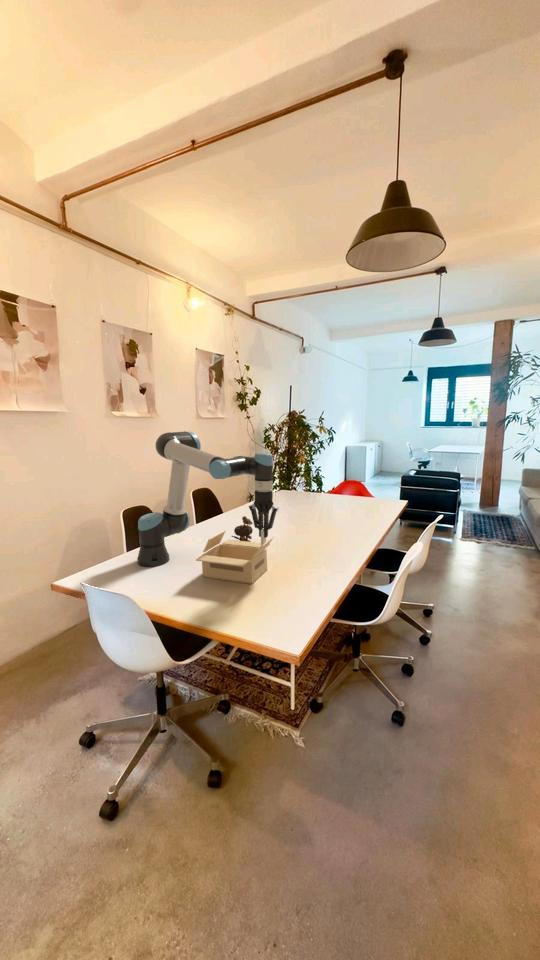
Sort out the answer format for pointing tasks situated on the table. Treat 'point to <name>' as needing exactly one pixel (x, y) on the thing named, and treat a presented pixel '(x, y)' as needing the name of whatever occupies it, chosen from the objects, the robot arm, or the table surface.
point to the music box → (244, 530)
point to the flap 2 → (263, 547)
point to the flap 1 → (214, 541)
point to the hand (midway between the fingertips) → (263, 544)
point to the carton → (234, 562)
